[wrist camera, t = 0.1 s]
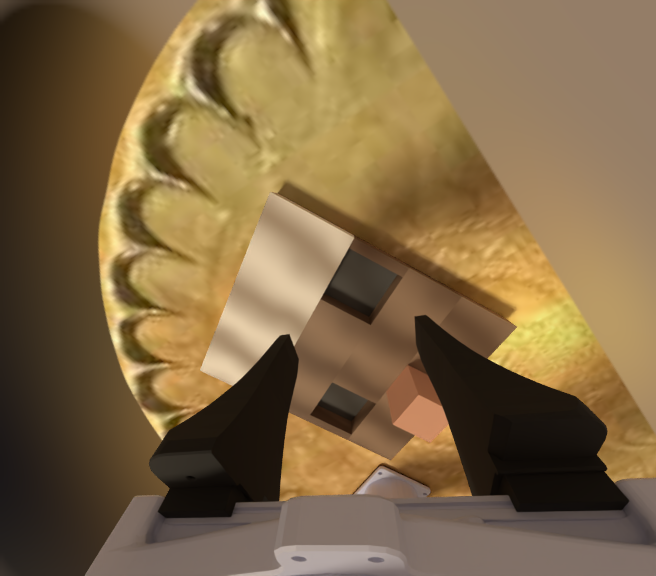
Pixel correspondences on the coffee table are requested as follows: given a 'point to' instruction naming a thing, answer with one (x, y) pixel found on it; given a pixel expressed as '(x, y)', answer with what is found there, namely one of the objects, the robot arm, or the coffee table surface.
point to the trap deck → (338, 321)
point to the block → (416, 405)
